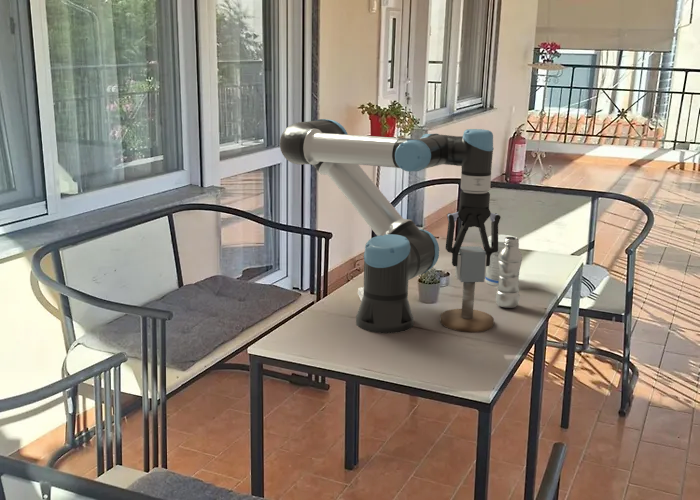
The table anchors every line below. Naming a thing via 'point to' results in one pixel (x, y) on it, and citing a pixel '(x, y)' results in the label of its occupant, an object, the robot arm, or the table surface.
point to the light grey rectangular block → (472, 264)
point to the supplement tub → (495, 262)
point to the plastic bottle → (509, 274)
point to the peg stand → (467, 314)
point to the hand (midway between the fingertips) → (469, 277)
